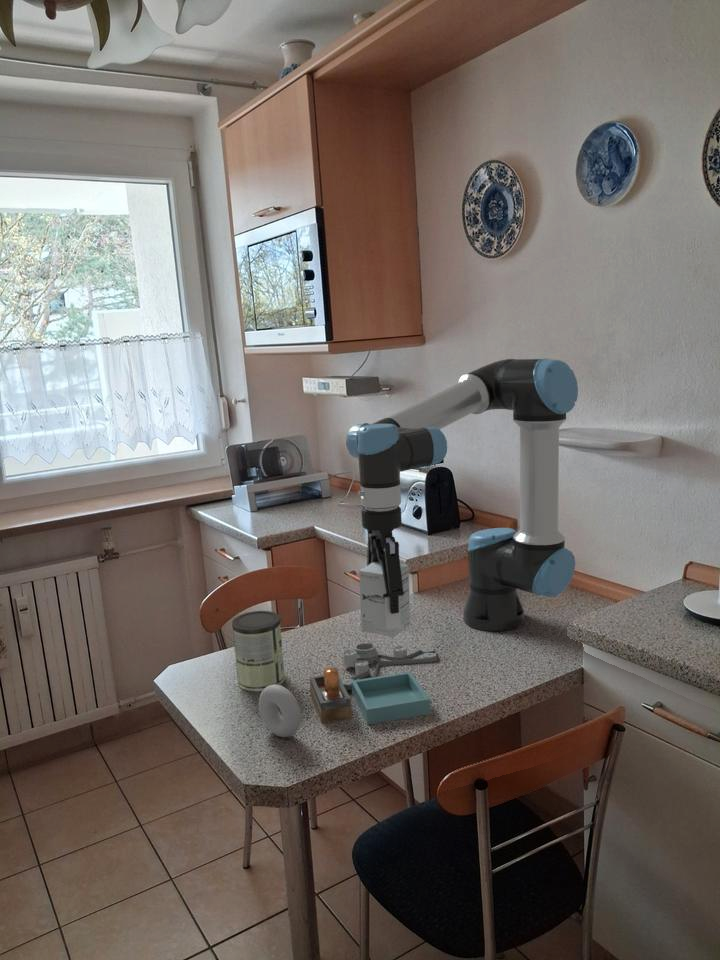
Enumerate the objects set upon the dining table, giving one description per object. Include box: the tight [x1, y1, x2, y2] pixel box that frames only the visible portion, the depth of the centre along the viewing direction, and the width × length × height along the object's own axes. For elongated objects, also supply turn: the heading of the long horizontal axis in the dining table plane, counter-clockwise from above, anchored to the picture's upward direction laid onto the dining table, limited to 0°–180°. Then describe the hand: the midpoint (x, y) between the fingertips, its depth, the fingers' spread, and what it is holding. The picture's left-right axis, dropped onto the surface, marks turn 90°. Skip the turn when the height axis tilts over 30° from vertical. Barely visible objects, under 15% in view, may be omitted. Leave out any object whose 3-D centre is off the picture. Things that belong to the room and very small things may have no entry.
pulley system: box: [341, 642, 438, 692], centre depth 171 cm, size 27×5×15 cm
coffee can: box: [231, 610, 286, 693], centre depth 165 cm, size 10×10×14 cm
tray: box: [351, 671, 431, 726], centre depth 153 cm, size 13×13×3 cm
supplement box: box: [358, 562, 411, 638], centre depth 149 cm, size 7×7×13 cm
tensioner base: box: [309, 674, 353, 724], centre depth 154 cm, size 6×12×4 cm, turn 14°
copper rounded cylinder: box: [322, 666, 343, 701], centre depth 150 cm, size 4×4×6 cm
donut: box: [258, 684, 302, 738], centre depth 143 cm, size 10×3×10 cm, turn 48°
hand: (385, 617), depth 150 cm, fingers closed on supplement box, 10 cm apart
